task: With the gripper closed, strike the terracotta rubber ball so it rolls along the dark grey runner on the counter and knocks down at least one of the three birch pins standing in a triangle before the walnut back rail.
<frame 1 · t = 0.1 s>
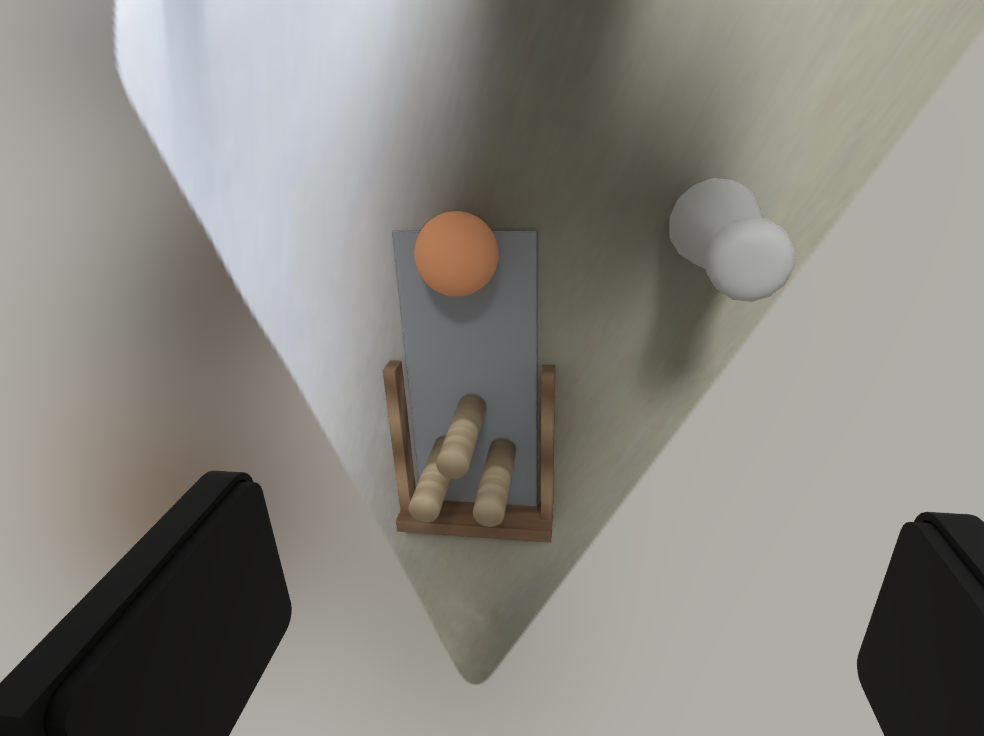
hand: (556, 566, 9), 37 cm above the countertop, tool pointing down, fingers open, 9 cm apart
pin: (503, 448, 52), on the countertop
ball: (456, 254, 42), on the countertop
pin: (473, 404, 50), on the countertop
salt shaker: (706, 215, 41), on the countertop
runner: (471, 384, 50), on the countertop
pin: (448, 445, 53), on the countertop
lane rail: (475, 443, 52), on the countertop
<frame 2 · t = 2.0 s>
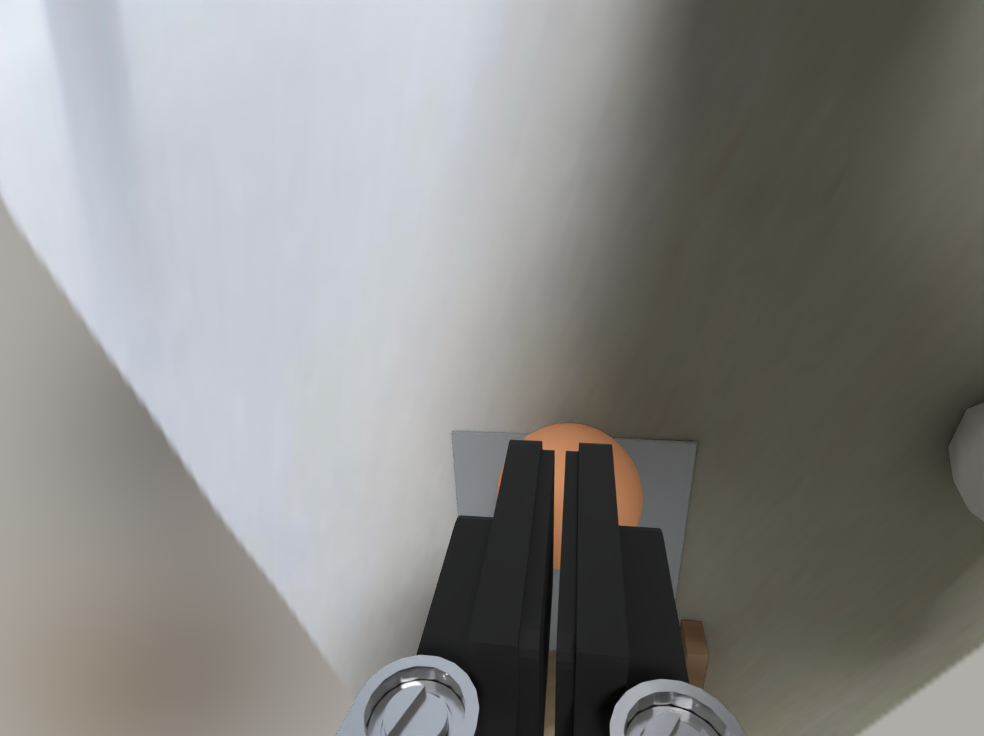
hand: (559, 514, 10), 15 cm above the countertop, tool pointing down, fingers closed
ball: (568, 495, 24), on the countertop
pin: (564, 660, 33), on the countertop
runner: (565, 635, 32), on the countertop
lane rail: (563, 706, 35), on the countertop
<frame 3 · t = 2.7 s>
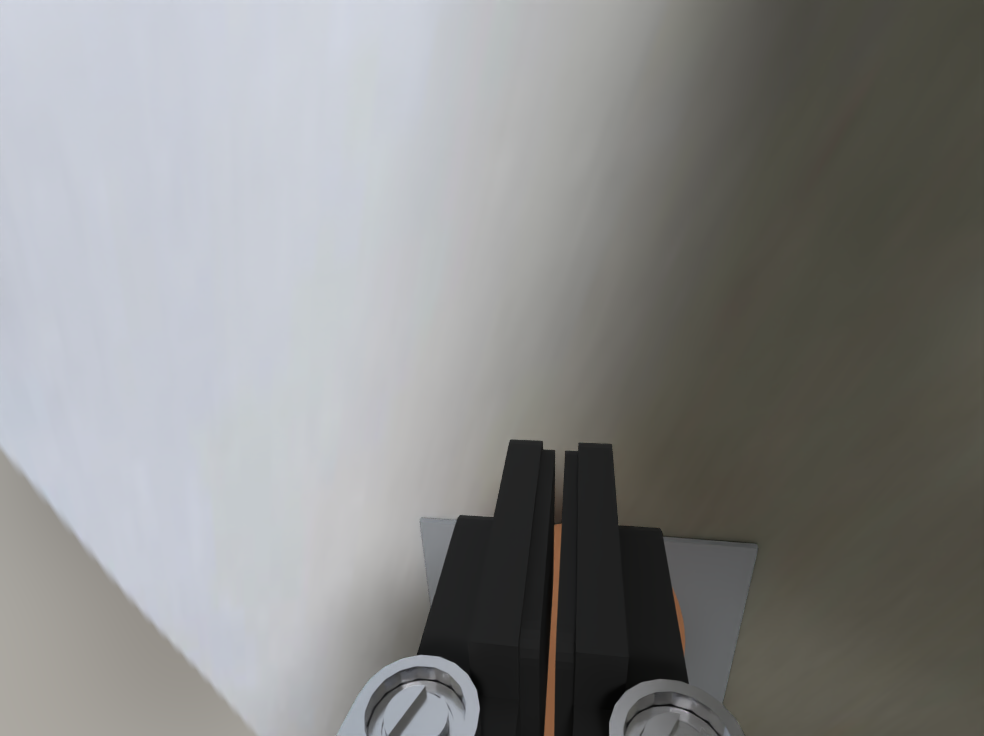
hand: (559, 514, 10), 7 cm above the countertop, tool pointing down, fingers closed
ball: (578, 627, 17), on the countertop
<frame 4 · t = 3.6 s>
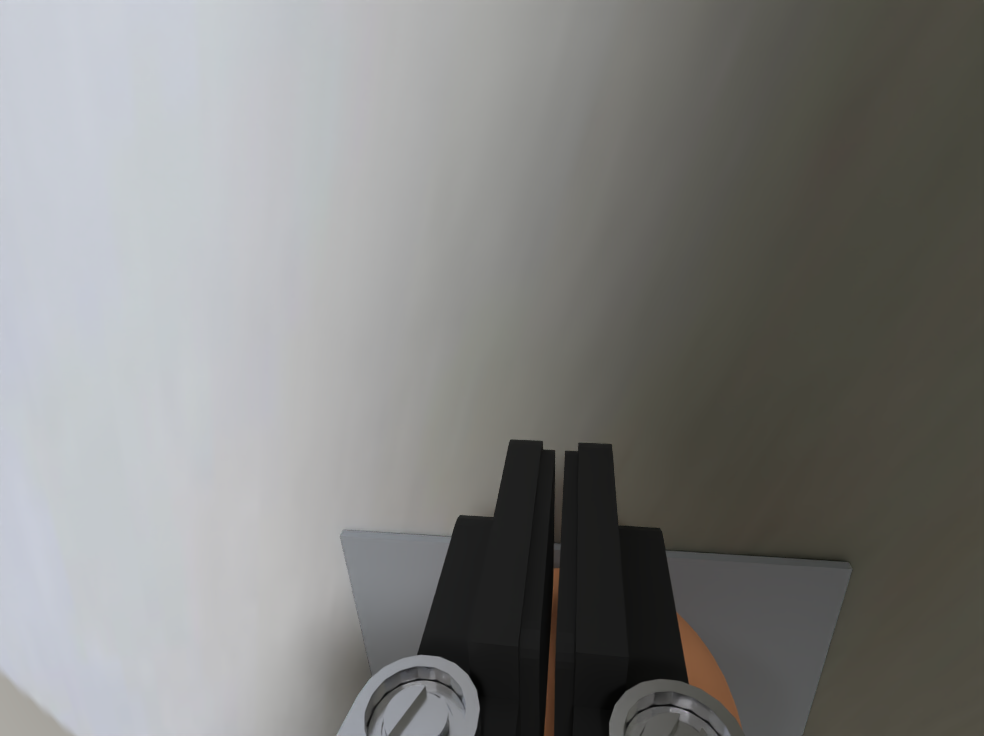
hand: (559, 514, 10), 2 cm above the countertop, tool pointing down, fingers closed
ball: (575, 734, 11), on the countertop, touching gripper
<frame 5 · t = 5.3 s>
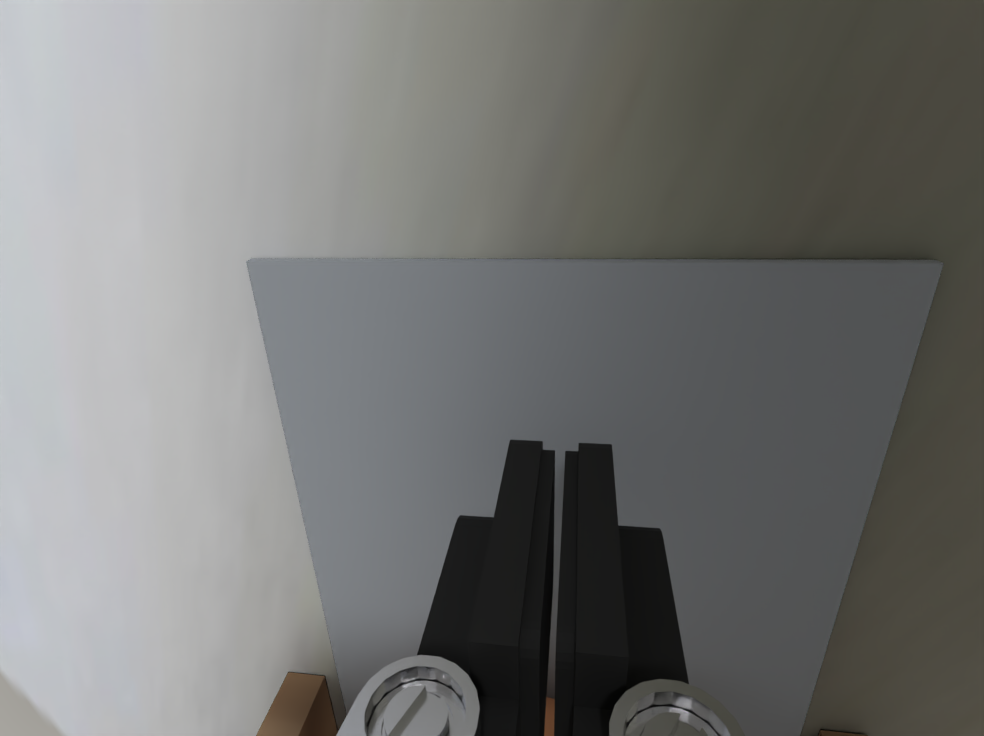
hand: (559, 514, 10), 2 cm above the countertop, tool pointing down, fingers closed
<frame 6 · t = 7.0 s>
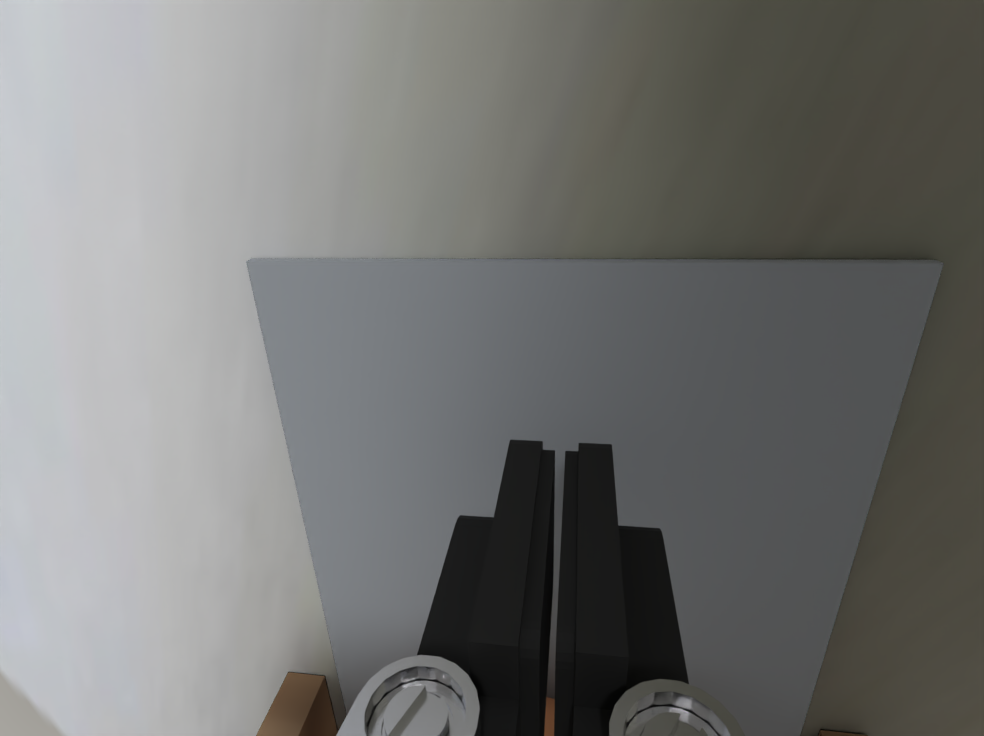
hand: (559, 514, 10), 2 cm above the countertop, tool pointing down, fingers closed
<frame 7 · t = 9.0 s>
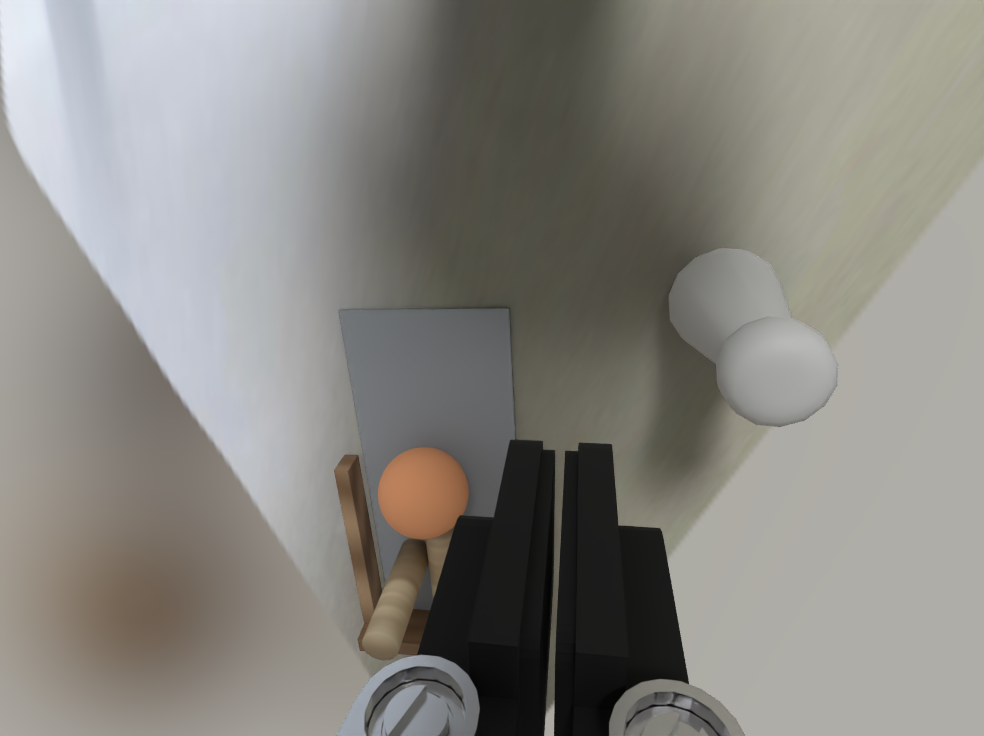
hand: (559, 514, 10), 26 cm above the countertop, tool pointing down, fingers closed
ball: (423, 492, 39), on the countertop
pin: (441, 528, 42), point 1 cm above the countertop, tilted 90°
salt shaker: (714, 288, 34), on the countertop
runner: (441, 481, 42), on the countertop
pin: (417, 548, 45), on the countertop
lane rail: (448, 547, 44), on the countertop
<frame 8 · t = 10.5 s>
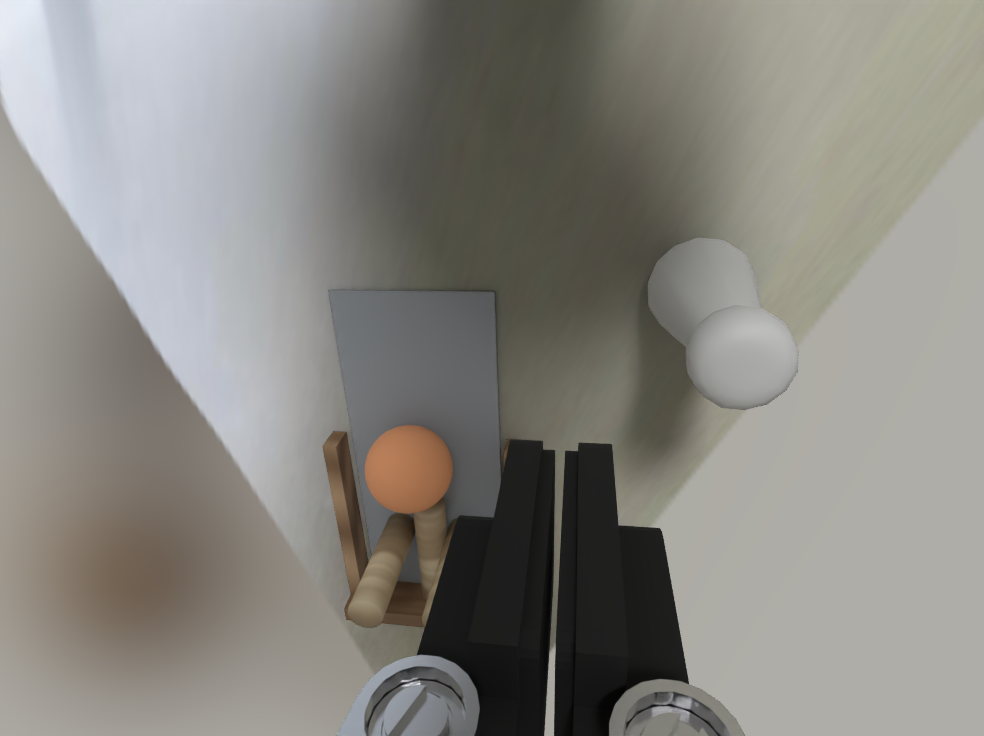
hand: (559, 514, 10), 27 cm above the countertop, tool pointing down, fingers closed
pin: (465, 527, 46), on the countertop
ball: (409, 468, 40), on the countertop
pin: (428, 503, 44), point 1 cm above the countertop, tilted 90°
salt shaker: (692, 276, 35), on the countertop
runner: (427, 458, 43), on the countertop
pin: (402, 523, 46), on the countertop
lane rail: (433, 522, 46), on the countertop
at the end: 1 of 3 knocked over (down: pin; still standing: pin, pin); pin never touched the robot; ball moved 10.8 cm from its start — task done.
